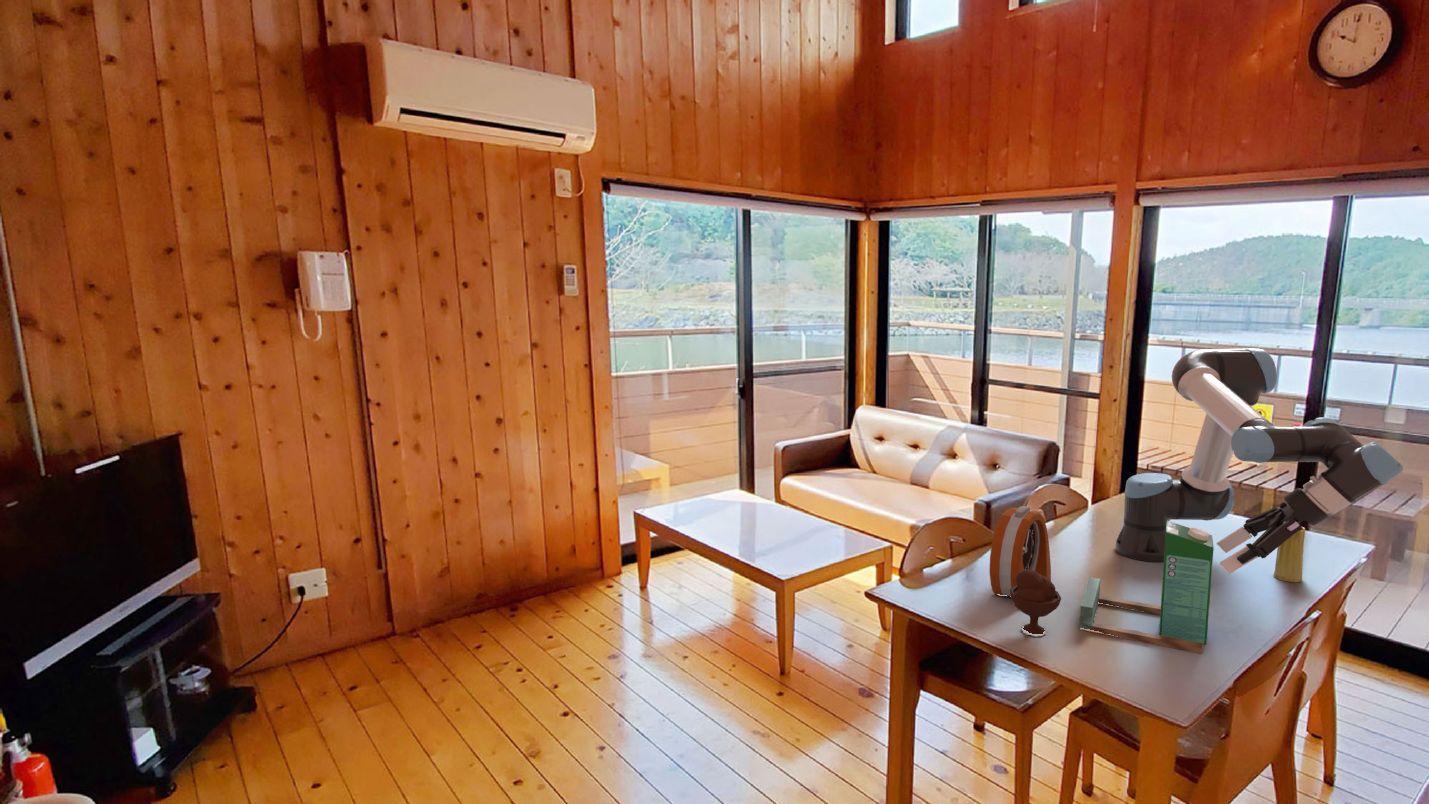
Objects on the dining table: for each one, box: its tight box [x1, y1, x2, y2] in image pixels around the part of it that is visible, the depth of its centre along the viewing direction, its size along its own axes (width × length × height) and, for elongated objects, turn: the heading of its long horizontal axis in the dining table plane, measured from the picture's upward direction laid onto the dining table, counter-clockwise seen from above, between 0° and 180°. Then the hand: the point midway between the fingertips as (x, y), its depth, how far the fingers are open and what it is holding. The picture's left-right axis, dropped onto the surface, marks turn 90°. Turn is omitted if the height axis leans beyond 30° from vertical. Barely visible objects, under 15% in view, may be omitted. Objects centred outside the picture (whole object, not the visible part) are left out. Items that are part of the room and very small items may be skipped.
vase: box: [1273, 526, 1306, 583], centre depth 196 cm, size 6×6×14 cm
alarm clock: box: [989, 505, 1052, 597], centre depth 194 cm, size 22×10×23 cm, turn 137°
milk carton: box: [1158, 520, 1215, 645], centre depth 168 cm, size 9×9×25 cm
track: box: [1079, 576, 1203, 654], centre depth 174 cm, size 24×19×6 cm
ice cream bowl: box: [1010, 569, 1062, 634], centre depth 172 cm, size 11×11×15 cm
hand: (1222, 557), depth 164 cm, fingers open, 13 cm apart
